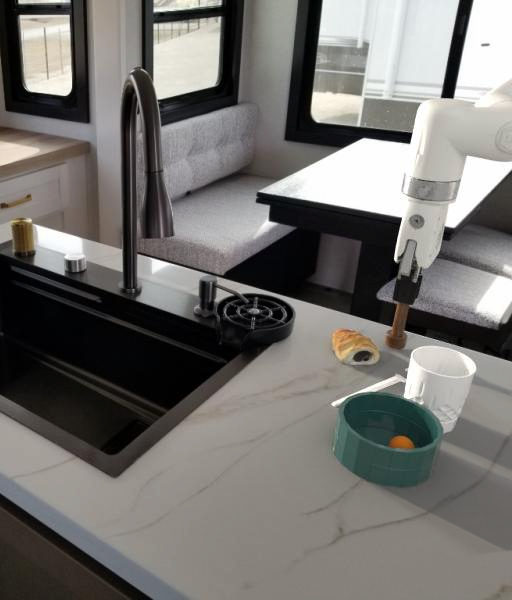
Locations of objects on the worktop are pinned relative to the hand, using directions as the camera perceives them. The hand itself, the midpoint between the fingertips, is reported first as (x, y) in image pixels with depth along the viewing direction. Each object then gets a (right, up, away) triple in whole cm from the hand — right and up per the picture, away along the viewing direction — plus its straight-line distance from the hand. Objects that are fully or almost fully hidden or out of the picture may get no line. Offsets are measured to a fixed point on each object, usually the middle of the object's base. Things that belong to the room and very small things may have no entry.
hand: (405, 298), depth 102 cm
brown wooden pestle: (0, -8, +4) cm, 9 cm away
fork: (-6, -14, -5) cm, 16 cm away
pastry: (-7, -10, +3) cm, 12 cm away
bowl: (-12, -21, -19) cm, 30 cm away
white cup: (-3, -17, -12) cm, 22 cm away
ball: (-11, -18, -20) cm, 29 cm away
